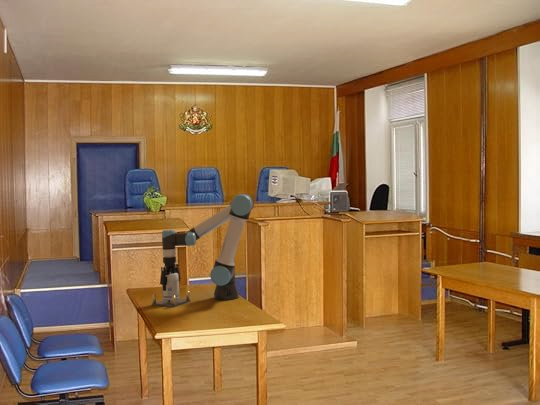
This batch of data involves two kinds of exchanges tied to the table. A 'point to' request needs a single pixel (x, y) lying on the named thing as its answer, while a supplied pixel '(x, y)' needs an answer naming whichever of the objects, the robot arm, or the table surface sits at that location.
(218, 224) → the robot arm
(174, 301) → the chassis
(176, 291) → the supplement tub
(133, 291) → the table surface
